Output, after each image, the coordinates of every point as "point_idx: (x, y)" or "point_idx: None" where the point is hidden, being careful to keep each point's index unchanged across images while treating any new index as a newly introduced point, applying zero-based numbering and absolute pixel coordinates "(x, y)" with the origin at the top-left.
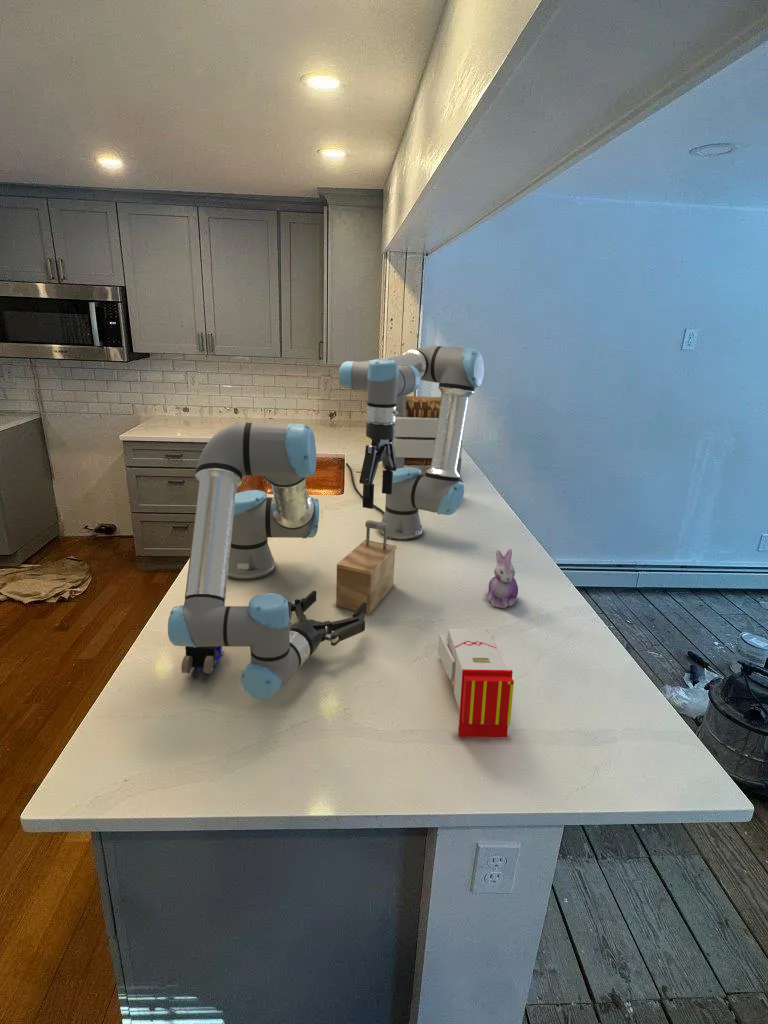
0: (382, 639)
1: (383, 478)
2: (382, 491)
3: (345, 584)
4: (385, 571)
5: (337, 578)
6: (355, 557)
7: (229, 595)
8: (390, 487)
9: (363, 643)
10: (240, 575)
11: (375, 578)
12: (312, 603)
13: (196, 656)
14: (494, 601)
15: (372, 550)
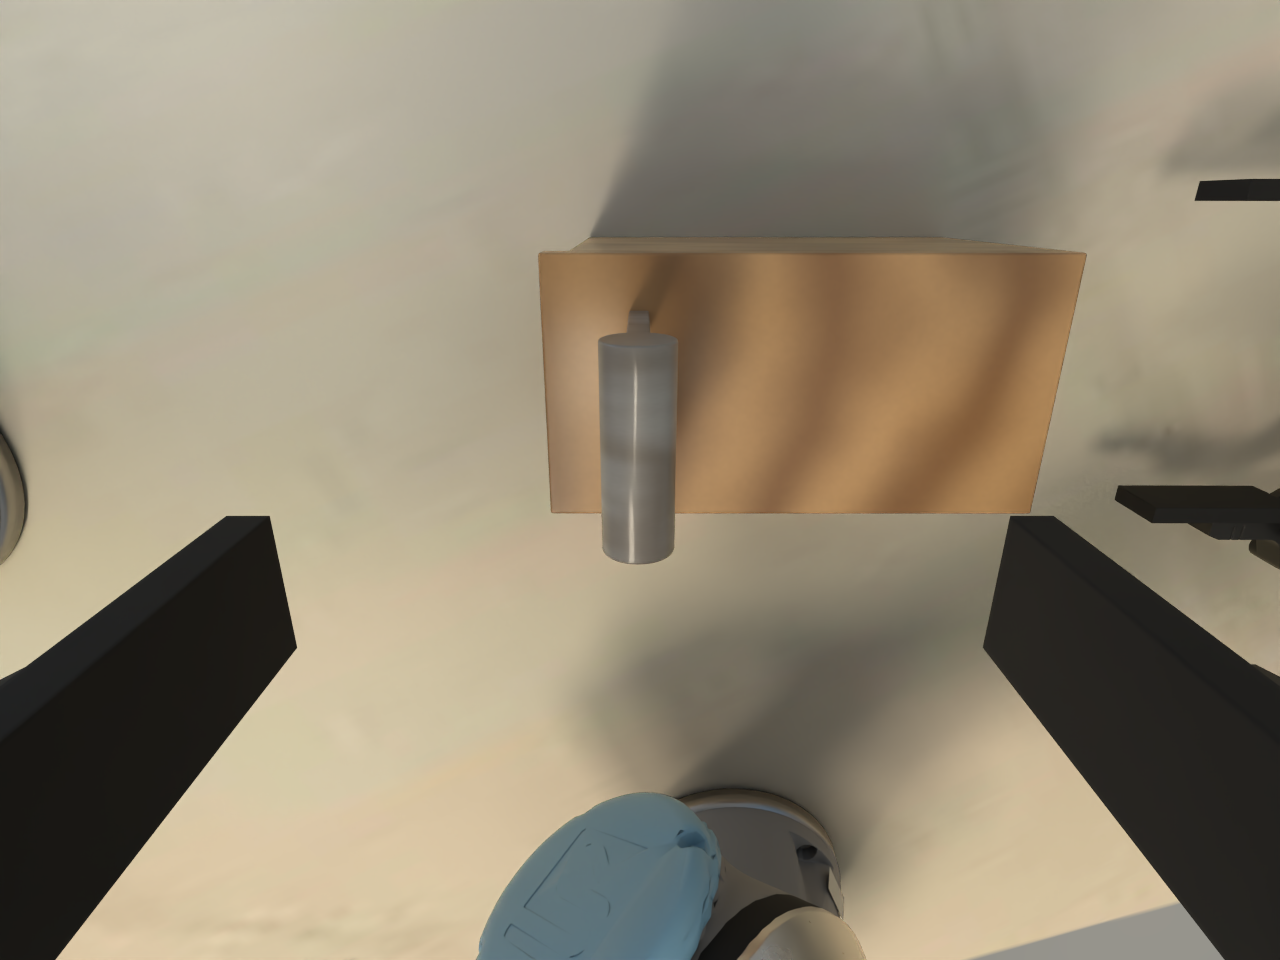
0: (1177, 65)
1: (139, 824)
2: (282, 656)
3: None
4: (754, 245)
5: None
6: (882, 450)
7: (962, 816)
8: (205, 585)
9: (1231, 148)
10: (836, 862)
11: (949, 247)
12: (1163, 487)
13: None
14: None
15: (715, 390)
